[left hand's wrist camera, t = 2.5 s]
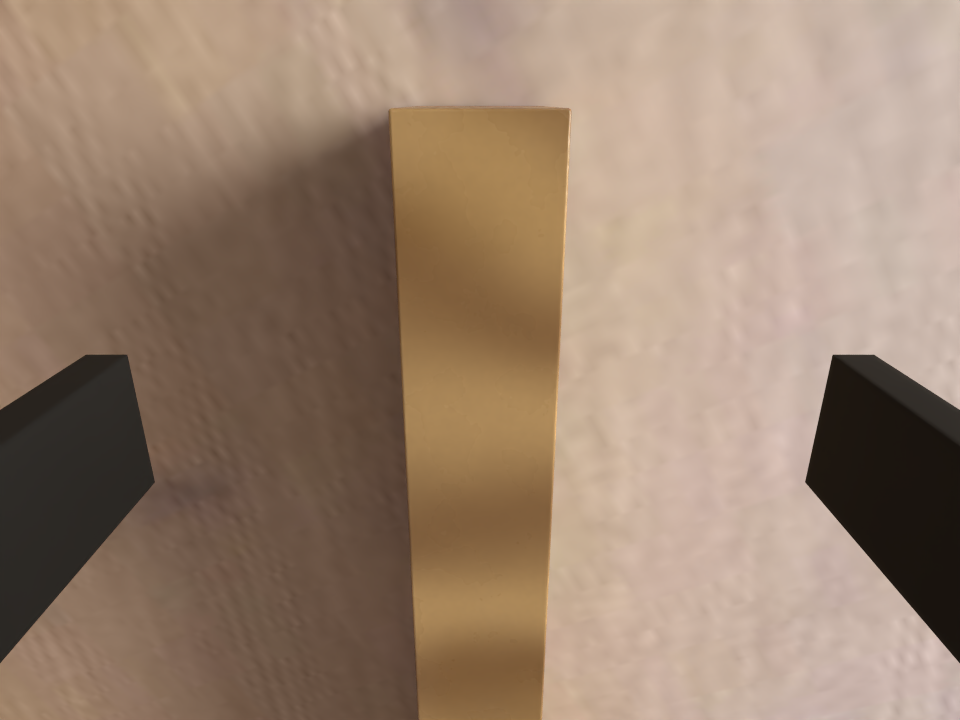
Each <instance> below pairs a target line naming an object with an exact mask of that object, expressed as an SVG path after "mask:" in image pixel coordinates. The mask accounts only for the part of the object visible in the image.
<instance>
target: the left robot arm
mask: <svg viewBox="0 0 960 720" xmlns="http://www.w3.org/2000/svg"><path fill="white" fill-rule="evenodd" d="M154 482H155V481H154V476H153V472H152V467H151V463H150V458H149V453H148V449H147V444H146V439H145V435H144V430H143V426H142V421H141V416H140V412H139V407H138V402H137V398H136V393H135V389H134V384H133V379H132V375H131V370H130V365H129V361H128V356H127V355H85V356H83V357H82V358H80V359H79V360H77V361H76V362H74V363H73V364H71V365H70V366H68V367H66V368H65V369H63V370H62V371H60V372H59V373H57V374H56V375H54V376H52V377H51V378H49V379H48V380H46V381H45V382H43V383H42V384H40V385H38V386H37V387H35V388H34V389H32V390H31V391H29V392H28V393H26V394H24V395H23V396H21V397H20V398H18V399H17V400H15V401H14V402H12V403H10V404H9V405H7V406H6V407H4V408H3V409H1V410H0V663H1V662H2V660H3V659H4V658H5V657H6V656H7V655H8V653H9V652H10V651H11V650H12V649H13V648H14V646H15V645H16V644H17V643H18V642H19V641H20V639H21V638H22V637H23V636H24V635H25V634H26V632H27V631H28V630H29V629H30V628H31V626H32V625H33V624H34V623H35V622H36V621H37V619H38V618H39V617H40V616H41V615H42V614H43V612H44V611H45V610H46V609H47V608H48V607H49V605H50V604H51V603H52V602H53V601H54V600H55V598H56V597H57V596H58V595H59V594H60V593H61V591H62V590H63V589H64V588H65V587H66V585H67V584H68V583H69V582H70V581H71V580H72V578H73V577H74V576H75V575H76V574H77V573H78V571H79V570H80V569H81V568H82V567H83V566H84V564H85V563H86V562H87V561H88V560H89V559H90V557H91V556H92V555H93V554H94V553H95V552H96V550H97V549H98V548H99V547H100V546H101V545H102V543H103V542H104V541H105V540H106V539H107V537H108V536H109V535H110V534H111V533H112V532H113V530H114V529H115V528H116V527H117V526H118V525H119V523H120V522H121V521H122V520H123V519H124V518H125V516H126V515H127V514H128V513H129V512H130V511H131V509H132V508H133V507H134V506H135V505H136V504H137V502H138V501H139V500H140V499H141V498H142V497H143V495H144V494H145V493H146V492H147V491H148V489H149V488H150V487H151V486H152V485H153V484H154ZM805 482H806V484H807V485H808V486H809V487H810V488H811V489H812V491H813V492H814V493H815V494H816V495H817V497H818V498H819V499H820V500H821V501H822V502H823V504H824V505H825V506H826V507H827V508H828V509H829V511H830V512H831V513H832V514H833V515H834V516H835V518H836V519H837V520H838V521H839V522H840V523H841V525H842V526H843V527H844V528H845V529H846V530H847V532H848V533H849V534H850V535H851V536H852V537H853V539H854V540H855V541H856V542H857V543H858V545H859V546H860V547H861V548H862V549H863V550H864V552H865V553H866V554H867V555H868V556H869V557H870V559H871V560H872V561H873V562H874V563H875V564H876V566H877V567H878V568H879V569H880V570H881V571H882V573H883V574H884V575H885V576H886V577H887V578H888V580H889V581H890V582H891V583H892V584H893V586H894V587H895V588H896V589H897V590H898V591H899V593H900V594H901V595H902V596H903V597H904V598H905V600H906V601H907V602H908V603H909V604H910V605H911V607H912V608H913V609H914V610H915V611H916V612H917V614H918V615H919V616H920V617H921V618H922V619H923V621H924V622H925V623H926V624H927V625H928V626H929V628H930V629H931V630H932V631H933V632H934V634H935V635H936V636H937V637H938V638H939V639H940V641H941V642H942V643H943V644H944V645H945V646H946V648H947V649H948V650H949V651H950V652H951V653H952V655H953V656H954V657H955V658H956V659H957V660H958V662H959V663H960V410H959V409H957V408H956V407H954V406H953V405H951V404H950V403H948V402H946V401H945V400H943V399H942V398H940V397H939V396H937V395H936V394H934V393H932V392H931V391H929V390H928V389H926V388H925V387H923V386H922V385H920V384H918V383H917V382H915V381H914V380H912V379H911V378H909V377H908V376H906V375H904V374H903V373H901V372H900V371H898V370H897V369H895V368H894V367H892V366H890V365H889V364H887V363H886V362H884V361H883V360H881V359H880V358H878V357H877V356H875V355H833V356H832V361H831V365H830V370H829V375H828V379H827V384H826V389H825V393H824V398H823V402H822V407H821V412H820V416H819V421H818V426H817V430H816V435H815V439H814V444H813V449H812V453H811V458H810V463H809V467H808V472H807V476H806V481H805Z"/></svg>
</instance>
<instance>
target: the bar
mask: <svg viewBox="0 0 960 720" xmlns="http://www.w3.org/2000/svg"><path fill="white" fill-rule="evenodd" d="M570 130H571V109H569V108H557V107H545V106H415V107H403V108H391V109H389V131H390V152H391V172H392V193H393V213H394V234H395V254H396V275H397V295H398V316H399V336H400V357H401V377H402V398H403V418H404V439H405V459H406V480H407V500H408V521H409V541H410V562H411V582H412V603H413V623H414V644H415V665H416V685H417V706H418V720H542V705H543V685H544V664H545V644H546V623H547V603H548V582H549V561H550V541H551V520H552V500H553V479H554V459H555V438H556V418H557V397H558V377H559V356H560V336H561V315H562V295H563V274H564V254H565V233H566V212H567V192H568V171H569V151H570Z"/></svg>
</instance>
